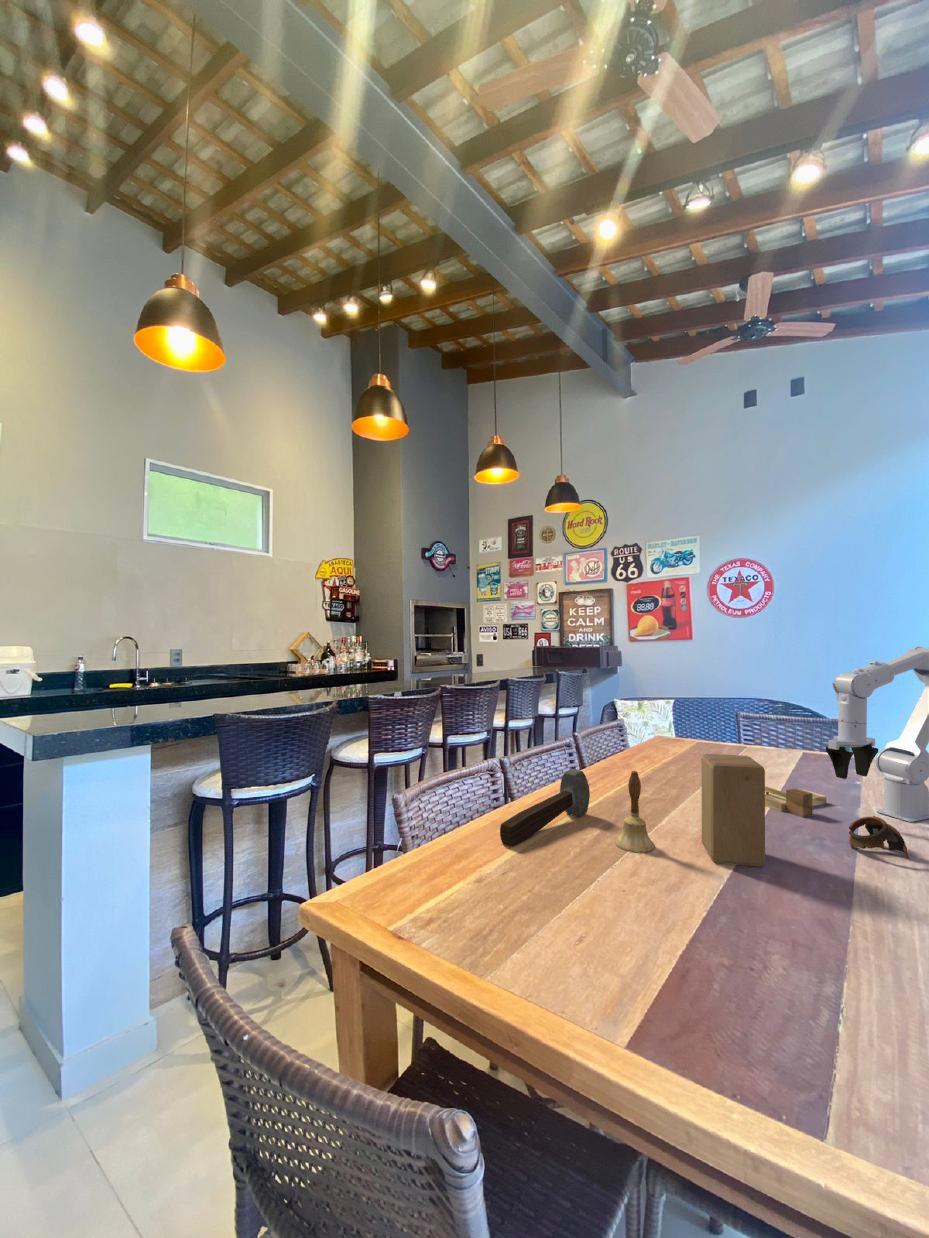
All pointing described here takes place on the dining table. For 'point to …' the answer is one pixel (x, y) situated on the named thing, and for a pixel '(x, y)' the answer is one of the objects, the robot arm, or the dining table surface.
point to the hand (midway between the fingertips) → (851, 776)
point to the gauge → (795, 801)
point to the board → (780, 802)
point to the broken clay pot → (876, 835)
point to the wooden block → (733, 809)
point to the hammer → (548, 809)
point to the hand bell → (634, 823)
